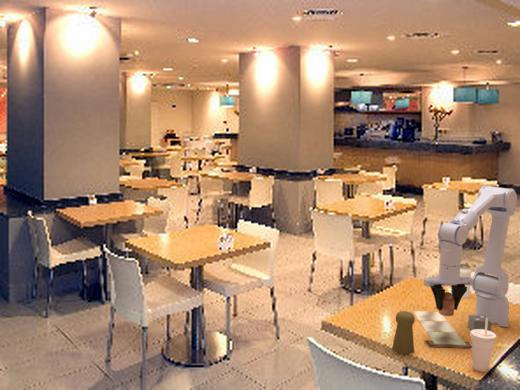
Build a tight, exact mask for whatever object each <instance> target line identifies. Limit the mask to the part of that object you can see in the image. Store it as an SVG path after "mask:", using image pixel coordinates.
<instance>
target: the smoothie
mask: <svg viewBox="0 0 520 390" xmlns="http://www.w3.org/2000/svg"><path fill="white" fill-rule="evenodd" d="M487 326H488V318H486V322H485V330H483V329H474V330H472V331H471V330H470V334H469V336H470V338H471V345H472V349H471V355H472V356H471V358H472V368H473V370H475V371H478V372H481V373H484V372H485V373H486V372H488V371H489V367H490V363H491V359H492V354H493V351H494V346H495V341H496V340H497V335H496V333H495V332H493V331H492V330H491V331H488V330H487Z"/></svg>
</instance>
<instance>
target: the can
mask: <svg viewBox="0 0 520 390" xmlns="http://www.w3.org/2000/svg"><path fill="white" fill-rule="evenodd" d="M460 277H470V278H472V270H471V266H470V265H469V264H465V263H461V265H460ZM465 287H467V291H466V292H465V294H464V295H463V297H462V298H461V299H465V298H466V299H469V298H470V292H471V291H470V290H471V286H470V285H465ZM450 293H451V294H452V288H451V287H450Z"/></svg>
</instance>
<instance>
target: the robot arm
mask: <svg viewBox="0 0 520 390" xmlns="http://www.w3.org/2000/svg"><path fill="white" fill-rule="evenodd" d="M517 201H518V196H517V192H516V191H515V189H514V188H505V187H498V186H490V185H483V186H481V188H480V189H479V190H478V193H477V199H475V200H474V202H473V203H472V204H471V206H470V207H469V208H463V209H462V210H461V211H460V212H458V213H457V215H456V216H454V217H453V218H452V219H451V220H450V221H449V222H444V223H442V224H441V225H440V226H439V228H438V231H437V239H438V244H439V245H438V246H439V247H440V254H439V255H440V256H439V257H440V258H439V268H438V269H439V272H438V276H433V277H426V278H424V279H423V285H424V286H425V287H427V288H429V287H430V290H431V291H432V294H433V297H434V301H435V306H436V309H437V310H438V311H439V310H442V305H443V297H444V293H445V292H447V291H446V290H445V289H444V287H443V286H450V289H451V288H452V296H453V298H454V299H455V305H454V311H457V310H458V308H459V305H460V302H461V300H462V299H463V298H462V297H463V295H464V294H465V292H466V291H467V287H465V285H470V287H471V288H472V290H473V291H474V294H475V295H476V301H475V312H474V315H480V316H486V317H487V318H488V319H489V320H490V321H491V324H497V325H498V326H499V327H501V328H502V327H505V328H508V327H509V323H508V322H509V314H510V313H509V312H510V303H509V299H508V297H507V296H506V295H507V294H508V291H509V275H508V273H507V272H506V271H505V270H504V269H503V267H502V263H503V258H504V252H505V246H506V242H507V235H508V229H509V225H510V219H511V218H510V217H511V216H513V215H515V211H516V208H517ZM485 212H488V213H490V214H491V216H492V217H491V224H490V229H489V234H488V240H487V245H486V251H485V256H484V257H485V258H484V262H483V264H482V265H480V266H478V267H476V268H475V270H474V274H473V276H472V277H471V278H470V277H460V265H461V264H462V263H461V262H462V251H463V250H462V249H463V245H464V244H465V243H466V242H467V239H468V236H469V235H470V231H471V230H472V229H473V228H474V227H475V226H476V225H477V224H478V223H479V217H480V216H481V215H482V214H484V213H485Z"/></svg>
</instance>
